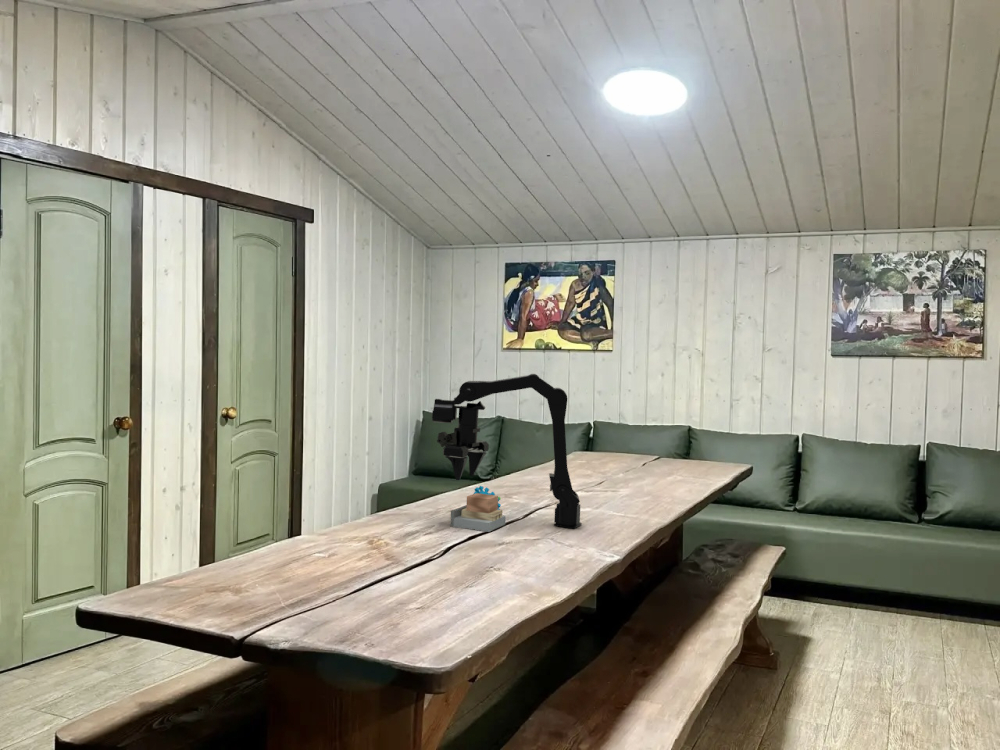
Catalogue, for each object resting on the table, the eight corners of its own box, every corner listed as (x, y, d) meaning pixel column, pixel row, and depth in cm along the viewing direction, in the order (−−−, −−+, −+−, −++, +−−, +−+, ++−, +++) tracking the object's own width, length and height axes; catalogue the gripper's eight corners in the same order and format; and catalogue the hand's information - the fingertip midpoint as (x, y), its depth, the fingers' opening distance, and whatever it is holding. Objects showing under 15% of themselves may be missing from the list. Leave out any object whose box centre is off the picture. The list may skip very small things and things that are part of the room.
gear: (484, 511, 239) (471, 484, 244) (472, 522, 241) (459, 495, 247) (509, 511, 247) (495, 485, 252) (497, 522, 249) (484, 496, 255)
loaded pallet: (502, 517, 227) (502, 496, 227) (493, 521, 222) (493, 499, 221) (470, 513, 231) (471, 492, 231) (461, 516, 226) (462, 495, 226)
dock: (505, 524, 230) (505, 509, 229) (488, 531, 220) (489, 516, 219) (468, 519, 235) (468, 504, 234) (450, 526, 225) (450, 510, 224)
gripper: (457, 419, 242) (454, 470, 243) (427, 424, 225) (424, 478, 226) (490, 423, 238) (487, 474, 239) (463, 427, 221) (460, 483, 222)
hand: (464, 477), depth 231 cm, fingers open, 9 cm apart
